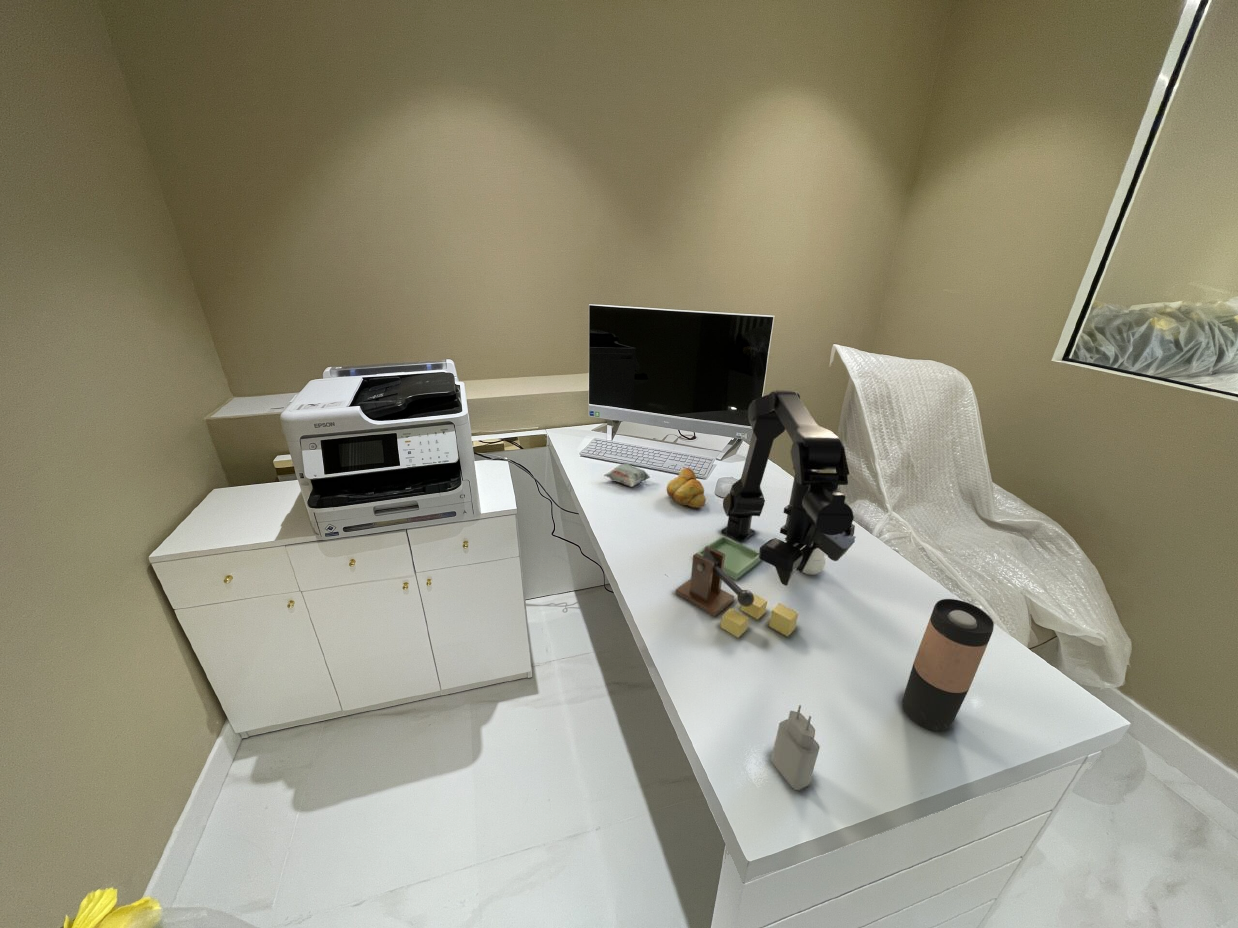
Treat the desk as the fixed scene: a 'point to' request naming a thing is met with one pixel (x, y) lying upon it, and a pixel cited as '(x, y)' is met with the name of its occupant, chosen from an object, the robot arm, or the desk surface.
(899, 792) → the desk surface
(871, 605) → the desk surface
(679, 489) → the bread roll
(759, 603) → the butter
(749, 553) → the tray
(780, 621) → the block
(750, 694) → the desk surface
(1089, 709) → the desk surface
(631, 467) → the packaged food
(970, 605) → the travel mug
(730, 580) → the ball knob lever
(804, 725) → the power adapter
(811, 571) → the plastic bottle
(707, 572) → the brown lever stand
